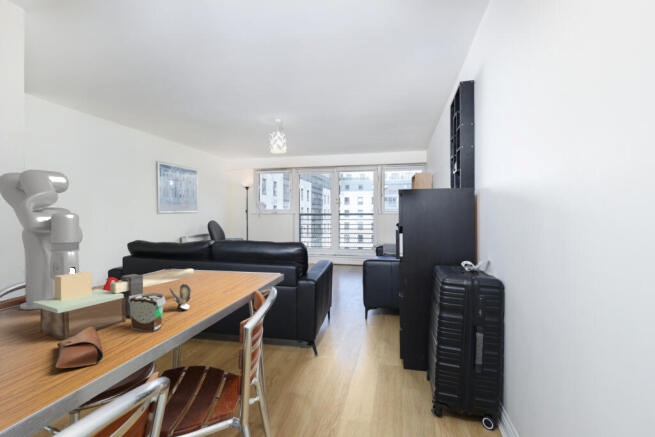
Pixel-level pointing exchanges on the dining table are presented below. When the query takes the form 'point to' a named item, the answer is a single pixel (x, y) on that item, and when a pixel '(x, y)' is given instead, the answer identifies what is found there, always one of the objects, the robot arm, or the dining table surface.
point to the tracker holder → (107, 285)
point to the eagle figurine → (182, 297)
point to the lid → (75, 293)
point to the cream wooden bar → (153, 280)
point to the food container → (146, 311)
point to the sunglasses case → (80, 350)
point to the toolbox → (91, 313)
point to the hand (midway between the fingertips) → (65, 298)
